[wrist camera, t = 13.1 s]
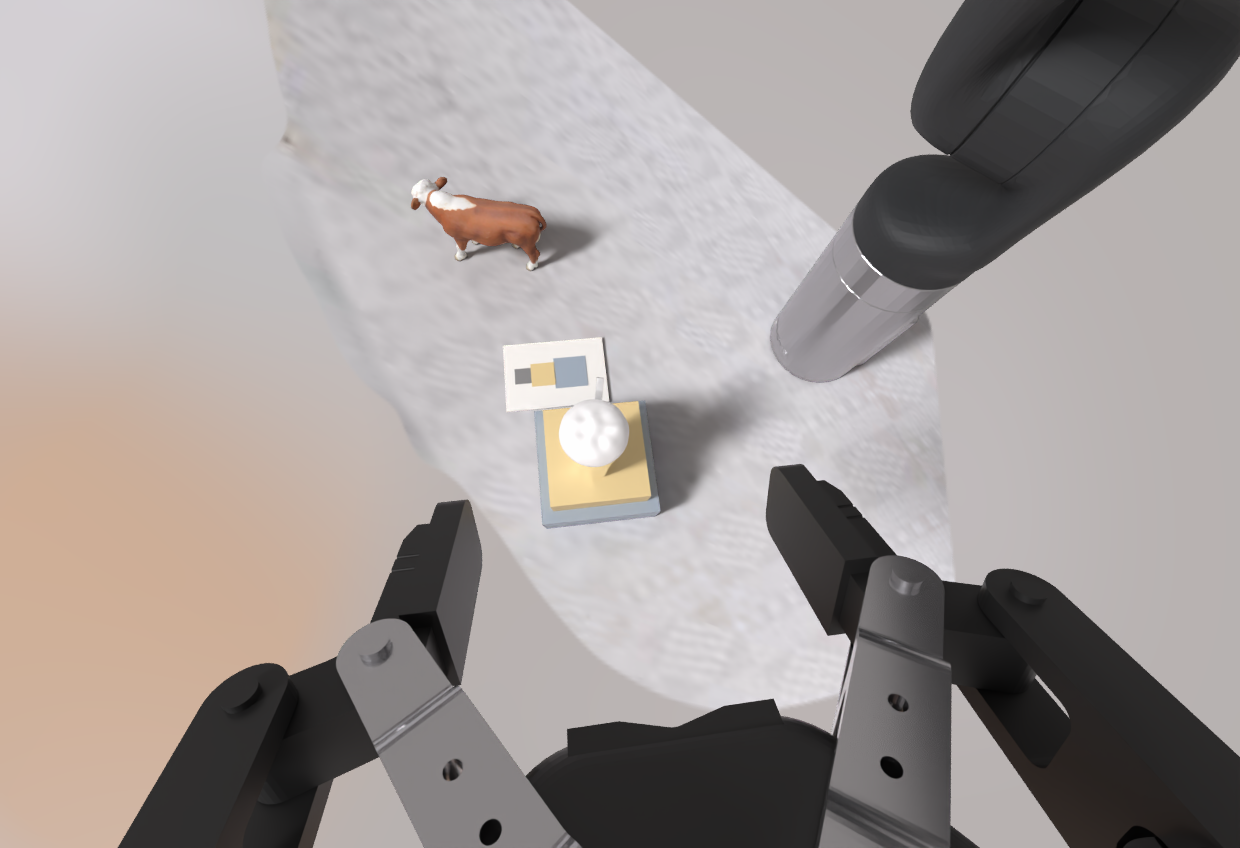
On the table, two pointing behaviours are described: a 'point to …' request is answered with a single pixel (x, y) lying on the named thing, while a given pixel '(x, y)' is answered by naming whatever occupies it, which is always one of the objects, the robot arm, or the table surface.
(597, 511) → the tower base
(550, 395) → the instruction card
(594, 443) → the milkshake
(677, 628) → the table surface
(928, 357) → the table surface
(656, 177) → the table surface
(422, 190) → the bull figurine
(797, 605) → the table surface
